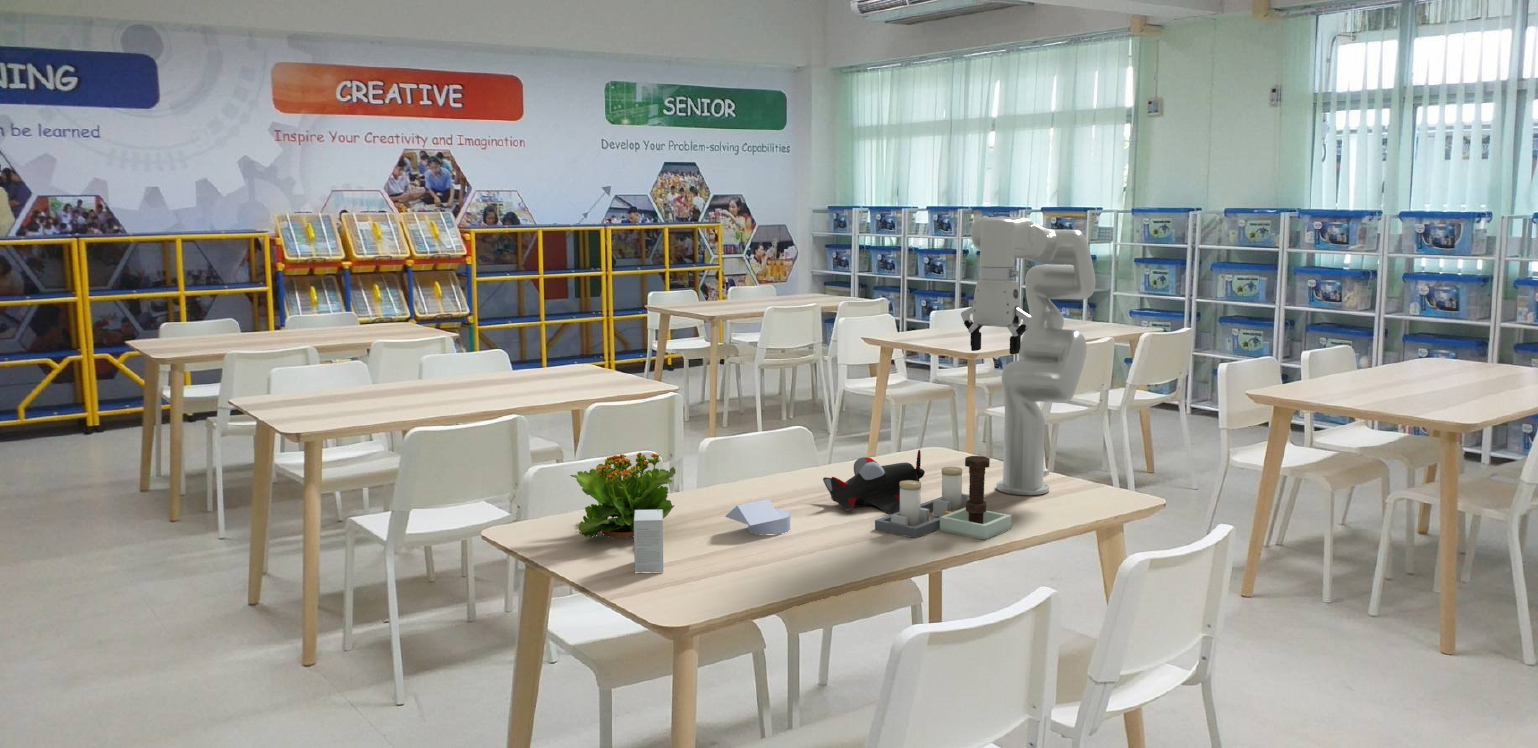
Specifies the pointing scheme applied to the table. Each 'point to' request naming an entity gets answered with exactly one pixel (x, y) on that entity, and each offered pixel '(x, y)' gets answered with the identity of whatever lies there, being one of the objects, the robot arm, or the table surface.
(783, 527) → the wedge on round base
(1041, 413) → the robot arm
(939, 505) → the block
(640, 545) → the small box
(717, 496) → the table surface
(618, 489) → the potted flower
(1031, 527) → the table surface
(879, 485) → the toy airplane
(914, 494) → the fuse outer
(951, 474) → the ball
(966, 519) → the tray
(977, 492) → the bolt
